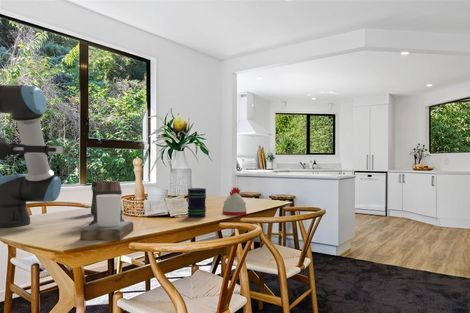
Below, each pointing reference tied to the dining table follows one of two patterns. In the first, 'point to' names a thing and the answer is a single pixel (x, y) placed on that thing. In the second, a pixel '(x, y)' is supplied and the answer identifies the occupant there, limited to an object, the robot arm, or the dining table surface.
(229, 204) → the pom-pom beanie
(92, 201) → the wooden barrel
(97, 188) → the tankard
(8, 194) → the robot arm
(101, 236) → the dock
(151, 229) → the dining table surface
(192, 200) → the storage jar
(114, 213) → the candle holder
